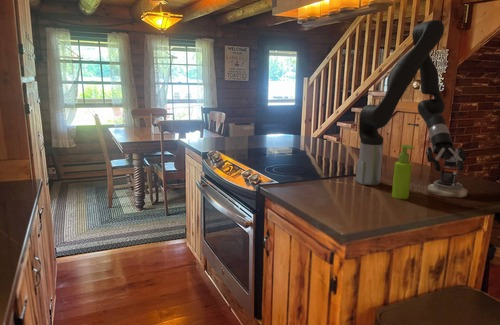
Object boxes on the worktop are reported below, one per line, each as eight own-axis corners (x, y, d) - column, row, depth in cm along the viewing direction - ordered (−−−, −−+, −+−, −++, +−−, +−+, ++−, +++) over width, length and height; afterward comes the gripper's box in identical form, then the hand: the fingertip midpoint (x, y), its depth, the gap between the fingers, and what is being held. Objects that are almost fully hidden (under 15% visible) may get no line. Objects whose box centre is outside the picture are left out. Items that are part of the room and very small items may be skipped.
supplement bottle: (457, 190, 144) (461, 162, 142) (441, 189, 145) (444, 161, 143) (453, 186, 150) (456, 159, 147) (437, 185, 151) (440, 158, 148)
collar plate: (442, 198, 140) (443, 189, 139) (420, 187, 153) (421, 179, 153) (475, 196, 142) (476, 187, 141) (451, 186, 155) (452, 178, 155)
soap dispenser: (400, 200, 137) (405, 147, 132) (388, 195, 143) (393, 143, 139) (413, 199, 138) (419, 146, 134) (401, 193, 145) (406, 143, 140)
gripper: (426, 131, 151) (435, 165, 142) (461, 132, 150) (473, 165, 142) (419, 142, 157) (428, 175, 148) (453, 142, 157) (464, 175, 148)
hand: (450, 170), depth 145 cm, fingers open, 8 cm apart
